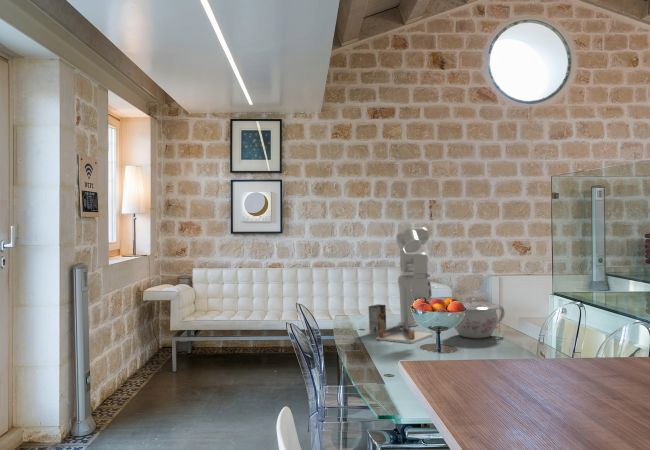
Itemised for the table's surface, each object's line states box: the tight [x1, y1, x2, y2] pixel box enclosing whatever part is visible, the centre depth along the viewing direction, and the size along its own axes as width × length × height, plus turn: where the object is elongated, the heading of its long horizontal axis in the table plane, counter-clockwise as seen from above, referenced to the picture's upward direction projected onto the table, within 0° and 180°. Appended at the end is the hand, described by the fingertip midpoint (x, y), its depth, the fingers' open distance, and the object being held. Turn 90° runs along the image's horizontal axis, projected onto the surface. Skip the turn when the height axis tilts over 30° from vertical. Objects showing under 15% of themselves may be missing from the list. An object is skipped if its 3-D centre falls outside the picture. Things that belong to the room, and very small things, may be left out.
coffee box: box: [368, 304, 387, 336], centre depth 317 cm, size 9×6×16 cm
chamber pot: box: [453, 298, 506, 340], centre depth 299 cm, size 28×28×21 cm
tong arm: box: [404, 326, 415, 339], centre depth 300 cm, size 19×3×4 cm, turn 2°
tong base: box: [378, 322, 407, 338], centre depth 305 cm, size 22×5×5 cm, turn 142°
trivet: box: [376, 331, 434, 344], centre depth 302 cm, size 24×22×1 cm
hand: (421, 311), depth 288 cm, fingers closed
